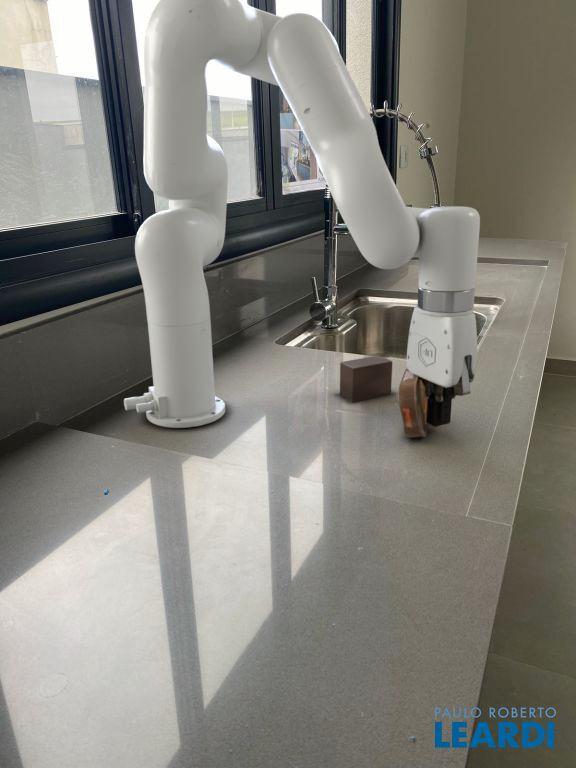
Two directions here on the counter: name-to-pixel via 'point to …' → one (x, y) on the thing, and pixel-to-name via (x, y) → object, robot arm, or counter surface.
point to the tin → (413, 405)
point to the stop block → (365, 378)
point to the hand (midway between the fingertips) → (438, 423)
